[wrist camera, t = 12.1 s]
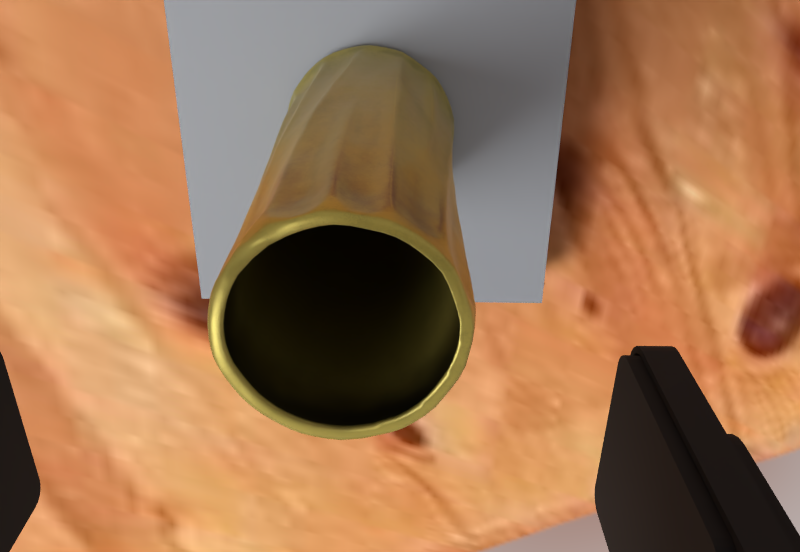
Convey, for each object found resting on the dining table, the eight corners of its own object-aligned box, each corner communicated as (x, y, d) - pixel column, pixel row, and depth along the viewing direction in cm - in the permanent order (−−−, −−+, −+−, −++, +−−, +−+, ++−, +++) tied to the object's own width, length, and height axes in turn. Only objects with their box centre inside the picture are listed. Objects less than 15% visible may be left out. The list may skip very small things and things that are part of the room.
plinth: (179, -82, 26) (153, -80, 24) (566, -77, 26) (584, -75, 24) (218, 266, 33) (201, 298, 30) (530, 270, 33) (541, 302, 30)
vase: (473, 68, 26) (541, 230, 13) (429, 223, 29) (449, 482, 16) (303, 24, 25) (201, 151, 12) (274, 187, 28) (166, 428, 15)
